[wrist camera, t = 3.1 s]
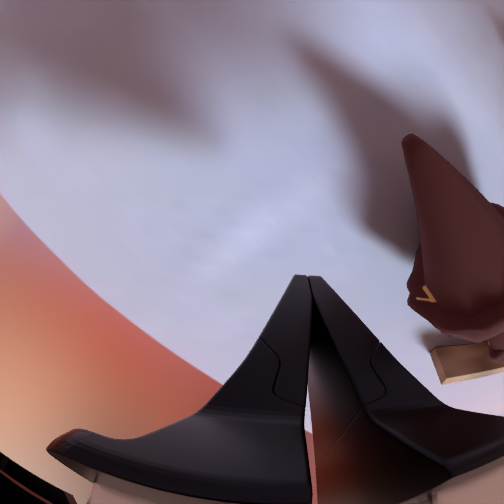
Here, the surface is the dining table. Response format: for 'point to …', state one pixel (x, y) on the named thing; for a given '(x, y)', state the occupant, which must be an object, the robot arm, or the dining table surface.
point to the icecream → (456, 251)
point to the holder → (464, 362)
